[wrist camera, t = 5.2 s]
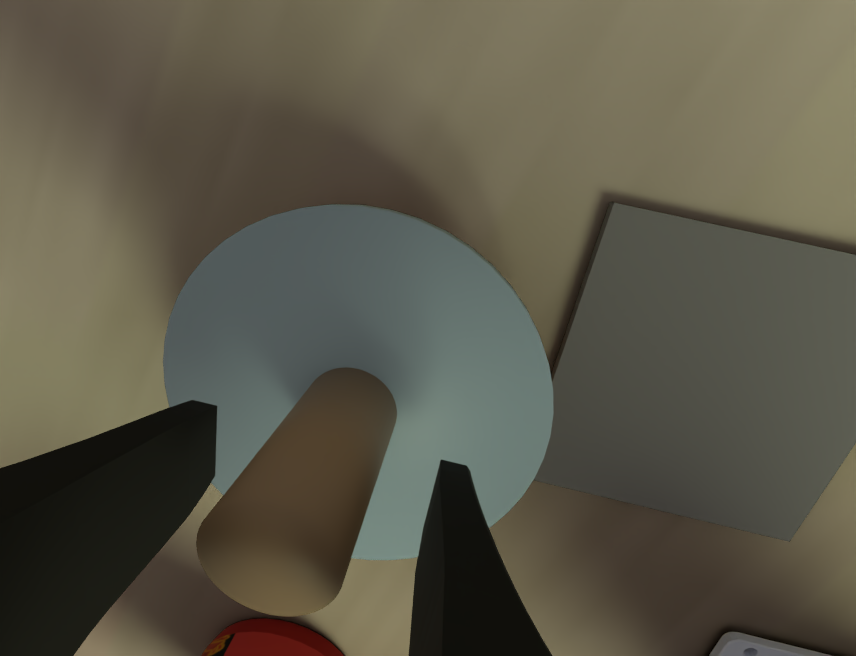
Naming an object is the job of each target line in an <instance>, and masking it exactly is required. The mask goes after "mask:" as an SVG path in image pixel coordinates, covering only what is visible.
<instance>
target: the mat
mask: <svg viewBox="0 0 856 656" xmlns="http://www.w3.org/2000/svg"><path fill="white" fill-rule="evenodd" d="M551 379H552V385H553V412H554V414H553V421H552V428H551V435H550V439H549V443H548V446H547V449H546V453H545V456H544V459H543V461H542V463H541V465H540V468H539V470H538V472H537V474H536V476H535V478H534V480H535V481H539V482H543V483H547V484H551V485H555V486H560V487H564V488H568V489H572V490H576V491H580V492H585V493H589V494H593V495H597V496H601V497H606V498H610V499H614V500H618V501H622V502H626V503H631V504H635V505H639V506H643V507H647V508H651V509H656V510H660V511H664V512H668V513H672V514H676V515H681V516H685V517H689V518H693V519H697V520H701V521H706V522H710V523H714V524H718V525H722V526H726V527H731V528H735V529H739V530H743V531H747V532H751V533H756V534H760V535H764V536H768V537H772V538H776V539H781V540H785V541H789V542H790V540H791V539H792V537H793V536H794V534H795V533H796V531H797V530H798V528H799V527H800V525H801V524H802V522H803V521H804V520H805V518H806V517H807V515H808V514H809V512H810V511H811V509H812V508H813V506H814V505H815V503H816V502H817V500H818V499H819V497H820V496H821V494H822V493H823V491H824V490H825V488H826V487H827V485H828V484H829V482H830V481H831V479H832V478H833V476H834V475H835V473H836V472H837V470H838V469H839V467H840V466H841V464H842V463H843V461H844V460H845V458H846V457H847V455H848V454H849V452H850V451H851V449H852V448H853V446H854V445H855V443H856V255H854V254H849V253H845V252H840V251H835V250H831V249H826V248H822V247H817V246H812V245H808V244H803V243H798V242H794V241H789V240H785V239H780V238H775V237H771V236H766V235H762V234H757V233H752V232H748V231H743V230H738V229H734V228H729V227H725V226H720V225H715V224H711V223H706V222H701V221H697V220H692V219H688V218H683V217H678V216H674V215H669V214H665V213H660V212H655V211H651V210H646V209H641V208H637V207H632V206H628V205H623V204H618V203H614V202H610V204H609V207H608V210H607V213H606V216H605V218H604V221H603V224H602V227H601V230H600V233H599V236H598V239H597V242H596V245H595V248H594V251H593V254H592V257H591V259H590V262H589V265H588V268H587V271H586V274H585V277H584V280H583V283H582V286H581V289H580V292H579V295H578V298H577V300H576V303H575V306H574V309H573V312H572V315H571V318H570V321H569V324H568V327H567V330H566V333H565V336H564V339H563V342H562V344H561V347H560V350H559V353H558V356H557V359H556V362H555V365H554V368H553V371H552V374H551Z"/></svg>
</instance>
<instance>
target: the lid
mask: <svg viewBox="0 0 856 656" xmlns="http://www.w3.org/2000/svg"><path fill="white" fill-rule="evenodd" d="M163 366H164V380H165V388H166V393H167V397H168V402H169V407H172V406H175V405H178V404H181V403H184V402H187V401H190V400H196V401H200V402H204V403H208V404H212V405H216V406H217V434H216V468H215V477H214V479H213V480H212V482H211V483H212V484H213V485H214V486H215V487H216V488H217V489H218V490H219V491H220V492H221V493H222V494H223V497H222V498H221V499H220V500H219V502H218V503H217V504H216V505H215V507H214V508H213V509H212V510H211V512H210V513H209V514H208V516H207V517H206V518H205V519H204V521H203V522H202V524H201V526H200V528H199V531H198V534H197V541H196V544H197V553H198V557H199V560H200V563H201V565H202V567H203V569H204V571H205V572H206V574H207V575H208V577H209V578H210V579H211V581H212V582H213V583H214V584H215V585H216V586H217V587H218V588H219V589H220V590H221V591H222V592H223V593H225V594H226V595H227V596H229V597H230V598H232V599H233V600H235V601H236V602H238V603H240V604H242V605H244V606H246V607H248V608H250V609H253V610H255V611H258V612H262V613H265V614H270V615H276V616H301V615H306V614H310V613H313V612H316V611H318V610H320V609H322V608H324V607H325V606H327V605H328V604H329V603H330V602H332V601H333V600H334V599H335V597H336V596H337V595H338V593H339V591H340V589H341V587H342V584H343V581H344V578H345V575H346V572H347V569H348V566H349V563H350V560H351V558H356V559H365V560H397V559H408V558H415V557H418V554H419V549H420V543H421V537H422V532H423V526H424V523H425V519H426V515H427V511H428V507H429V503H430V499H431V495H432V492H433V488H434V484H435V480H436V476H437V472H438V468H439V465H440V461H441V460H446V461H450V462H454V463H458V464H462V465H466V466H467V467H468V468H469V470H470V472H471V476H472V480H473V484H474V487H475V490H476V494H477V497H478V500H479V503H480V506H481V509H482V511H483V514H484V517H485V520H486V522H487V525H488V527H489V528H490V527H491V526H492V525H494V524H495V523H496V522H497V521H498V520H500V519H501V518H502V517H503V516H504V515H506V514H507V513H508V512H509V511H510V510H511V508H512V507H513V506H514V505H515V504H516V503H517V502H518V501H519V500H520V499H521V497H522V496H523V495H524V493H525V492H526V490H527V489H528V487H529V486H530V484H531V483H532V481H533V480H534V478H535V476H536V474H537V472H538V470H539V468H540V465H541V463H542V461H543V459H544V456H545V453H546V449H547V446H548V443H549V439H550V435H551V428H552V421H553V414H554V412H553V385H552V379H551V374H550V368H549V363H548V360H547V357H546V354H545V351H544V348H543V344H542V341H541V338H540V336H539V333H538V331H537V329H536V327H535V325H534V323H533V321H532V319H531V317H530V315H529V312H528V310H527V308H526V307H525V305H524V304H523V302H522V301H521V299H520V298H519V296H518V295H517V294H516V292H515V291H514V289H513V288H512V286H511V285H510V284H509V283H508V281H507V280H506V279H505V278H504V277H503V276H502V275H501V274H500V273H499V272H498V270H497V269H496V268H495V267H494V266H493V265H492V264H491V263H490V262H489V261H487V260H486V259H485V258H484V257H483V256H481V255H480V254H479V253H478V252H477V251H475V250H474V249H473V248H472V247H471V246H469V245H468V244H466V243H465V242H463V241H462V240H460V239H458V238H457V237H455V236H454V235H452V234H451V233H449V232H447V231H446V230H444V229H442V228H439V227H437V226H435V225H433V224H431V223H429V222H426V221H424V220H422V219H420V218H417V217H414V216H411V215H407V214H404V213H401V212H398V211H395V210H391V209H385V208H379V207H374V206H368V205H355V204H330V205H321V206H312V207H305V208H299V209H295V210H291V211H288V212H284V213H280V214H276V215H272V216H270V217H267V218H265V219H263V220H260V221H258V222H256V223H253V224H251V225H249V226H246V227H245V228H243V229H242V230H240V231H238V232H237V233H235V234H234V235H232V236H230V237H229V238H227V239H226V240H224V241H223V242H222V243H221V244H220V245H218V246H217V247H216V248H215V249H214V250H213V251H212V252H210V253H209V254H208V255H207V256H206V257H205V258H204V259H203V260H202V262H201V263H200V264H199V265H198V267H197V268H196V269H195V270H194V271H193V273H192V274H191V275H190V276H189V278H188V280H187V282H186V283H185V285H184V287H183V288H182V290H181V292H180V294H179V295H178V297H177V300H176V303H175V305H174V308H173V310H172V313H171V315H170V318H169V323H168V327H167V332H166V337H165V344H164V358H163Z"/></svg>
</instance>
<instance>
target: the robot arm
mask: <svg viewBox="0 0 856 656" xmlns="http://www.w3.org/2000/svg"><path fill="white" fill-rule="evenodd" d="M216 434H217V406H216V405H212V404H208V403H204V402H200V401H196V400H190V401H187V402H184V403H181V404H178V405H175V406H172V407H170V408H167V409H164V410H162V411H159V412H156V413H154V414H151V415H149V416H146V417H143V418H141V419H138V420H136V421H133V422H130V423H128V424H125V425H123V426H120V427H117V428H115V429H112V430H109V431H107V432H104V433H102V434H99V435H96V436H94V437H91V438H88V439H85V440H83V441H80V442H77V443H74V444H71V445H68V446H65V447H62V448H60V449H57V450H54V451H51V452H48V453H45V454H42V455H39V456H37V457H34V458H31V459H28V460H25V461H22V462H19V463H16V464H12V465H9V466H6V467H3V468H0V656H73V655H74V654H75V653H76V651H77V650H78V649H79V647H80V646H81V644H82V643H83V642H84V640H85V639H86V638H87V636H88V635H89V633H90V632H91V631H92V630H93V628H94V627H95V626H96V625H97V623H98V622H99V621H100V620H101V618H102V617H103V616H104V615H105V613H106V612H107V611H108V610H109V609H110V607H111V606H112V605H113V604H114V603H115V602H116V600H117V599H118V598H119V597H120V596H121V595H122V593H123V592H124V591H125V590H126V589H127V588H128V586H129V585H130V584H131V583H132V582H133V581H134V579H135V578H136V577H137V576H138V575H139V574H140V572H141V571H142V570H143V569H144V568H145V567H146V565H147V564H148V563H149V562H150V561H151V560H152V558H153V557H154V556H155V555H156V554H157V553H158V552H159V550H160V549H161V548H162V547H163V546H164V544H165V543H166V542H167V541H168V540H169V539H170V537H171V536H172V535H173V534H174V533H175V531H176V530H177V529H178V528H179V527H180V526H181V524H182V523H183V522H184V521H185V520H186V518H187V517H188V516H189V515H190V513H191V512H192V510H193V509H194V507H195V506H196V504H197V503H198V502H199V500H200V499H201V497H202V496H203V494H204V493H205V491H206V489H207V488H208V486H209V485H210V483H211V482H212V480H213V479H214V477H215V468H216ZM409 656H552V654H551V653H550V651H549V649H548V648H547V646H546V644H545V643H544V641H543V639H542V638H541V636H540V634H539V632H538V630H537V629H536V627H535V625H534V623H533V621H532V620H531V618H530V616H529V614H528V612H527V610H526V609H525V607H524V605H523V603H522V601H521V599H520V597H519V595H518V593H517V591H516V589H515V587H514V585H513V583H512V581H511V578H510V576H509V574H508V572H507V570H506V568H505V566H504V563H503V561H502V559H501V557H500V554H499V552H498V550H497V547H496V545H495V542H494V540H493V537H492V535H491V532H490V530H489V527H488V525H487V522H486V520H485V517H484V514H483V511H482V509H481V506H480V503H479V500H478V497H477V494H476V490H475V487H474V484H473V480H472V476H471V472H470V470H469V468H468V467H467V466H466V465H462V464H458V463H454V462H450V461H446V460H441V461H440V465H439V468H438V472H437V476H436V480H435V484H434V488H433V492H432V495H431V499H430V503H429V507H428V511H427V515H426V519H425V523H424V526H423V532H422V537H421V543H420V549H419V554H418V560H417V566H416V572H415V584H414V596H413V609H412V621H411V634H410V647H409ZM709 656H832V655H828V654H824V653H820V652H816V651H812V650H808V649H804V648H800V647H796V646H792V645H788V644H784V643H779V642H775V641H771V640H767V639H763V638H759V637H755V636H751V635H747V634H743V633H739V632H728V633H726V634H724V635H723V636H722V637H721V638H720V640H719V641H718V643H717V644H716V646H715V647H714V649H713V650H712V652H711V653H710V655H709Z"/></svg>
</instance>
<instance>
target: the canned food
mask: <svg viewBox="0 0 856 656" xmlns="http://www.w3.org/2000/svg"><path fill="white" fill-rule="evenodd" d="M201 656H343V654H342V653H341V652H340V651H339V650H338V649H337V648H336V647H335V646H334V645H333V644H332V643H331V642H330V641H328V640H327V639H325V638H324V637H322V636H321V635H320V634H318V633H316V632H314V631H312V630H310V629H308V628H306V627H303V626H300V625H298V624H295V623H292V622H287V621H283V620H279V619H268V618H261V619H249V620H245V621H240V622H237V623H235V624H233V625H231V626H228V627H227V628H226V629H225V630H223V631H222V632H221V633H220V634H219V635H218V636H217V637H216V638H215V639H214V640H213V641H212V642H211V643H210V644H209V645H208V646H207V648H206V649H205V651H204V652H203V654H202V655H201Z"/></svg>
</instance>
